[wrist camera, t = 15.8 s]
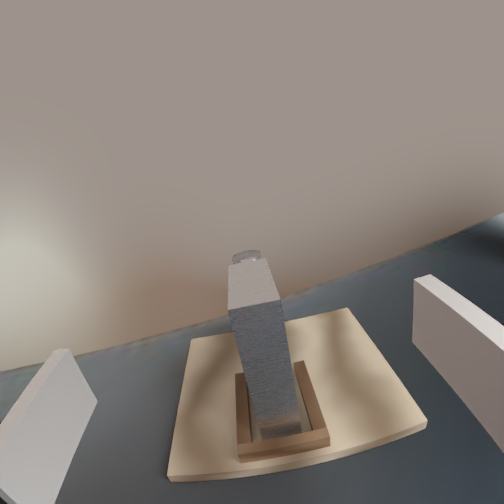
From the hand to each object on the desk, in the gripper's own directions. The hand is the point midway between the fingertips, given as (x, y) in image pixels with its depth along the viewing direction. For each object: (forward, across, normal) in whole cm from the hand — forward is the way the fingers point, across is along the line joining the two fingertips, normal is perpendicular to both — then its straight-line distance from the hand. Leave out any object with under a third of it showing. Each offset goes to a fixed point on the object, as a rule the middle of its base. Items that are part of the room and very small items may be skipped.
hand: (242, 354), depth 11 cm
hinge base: (+15, +1, -15) cm, 21 cm away
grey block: (+12, 0, -14) cm, 18 cm away
